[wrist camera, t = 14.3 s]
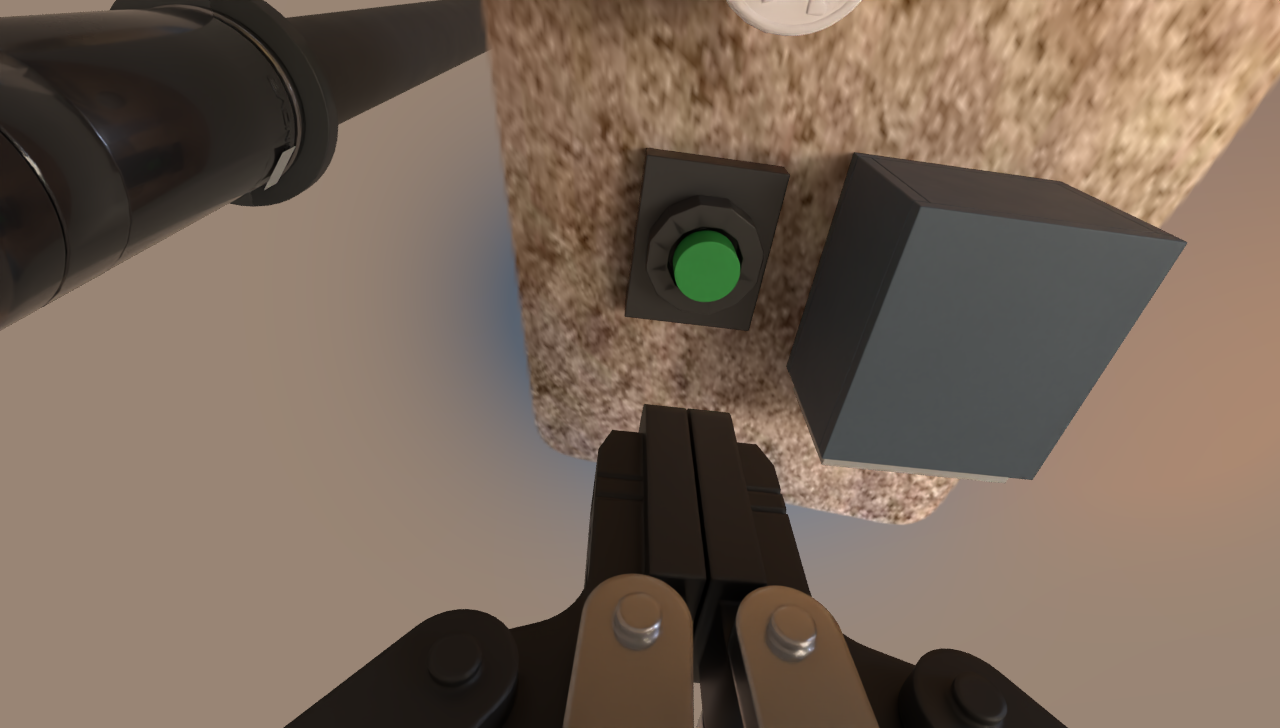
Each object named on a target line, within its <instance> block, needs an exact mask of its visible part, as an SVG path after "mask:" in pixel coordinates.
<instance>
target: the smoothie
mask: <svg viewBox="0 0 1280 728" xmlns="http://www.w3.org/2000/svg"><path fill="white" fill-rule="evenodd" d="M726 1H727V3H728V5H729V7H730V8H731V9H732V10H733V11H734V12H735V13H737V14H738V15H739V16H740V17H741V18H742V19H743V20H744V21H745V22H746V23H748V24H749V25H751V26H753V27H755V28H757V29H759V30H761V31H763V32H765V33H771V34H777V35H782V36H798V35H806V34H810V33H814V32H817V31H820V30H822V29H825V28H827V27H829V26H831V25H833V24H834V23H836V22H838V21H839V20H841V19H842V18H844V17H845V16H846V15H847V14H849V13H850V12H851V11H852V10H853V9H854V8H855V7H856V6H857V5H858V4H859V3H860V2H861V1H862V0H726Z"/></svg>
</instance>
